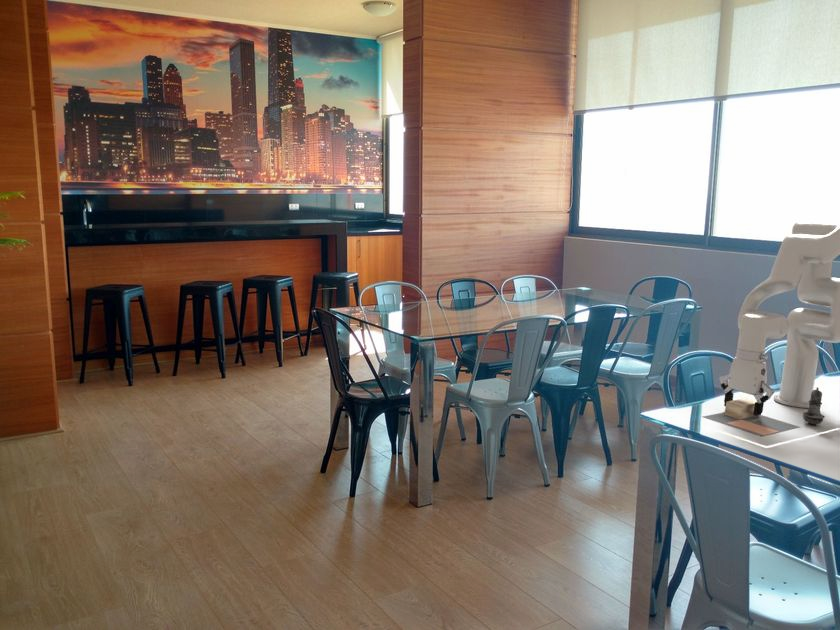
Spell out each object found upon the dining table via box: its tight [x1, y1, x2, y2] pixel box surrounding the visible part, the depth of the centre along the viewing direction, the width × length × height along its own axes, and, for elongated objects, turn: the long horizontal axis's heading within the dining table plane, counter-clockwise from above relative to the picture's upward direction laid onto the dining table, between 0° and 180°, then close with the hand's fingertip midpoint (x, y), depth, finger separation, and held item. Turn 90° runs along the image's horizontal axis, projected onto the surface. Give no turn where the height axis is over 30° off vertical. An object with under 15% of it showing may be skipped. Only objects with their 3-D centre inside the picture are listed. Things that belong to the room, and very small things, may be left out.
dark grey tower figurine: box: [802, 386, 825, 427], centre depth 213 cm, size 6×6×12 cm
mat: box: [702, 411, 801, 437], centre depth 213 cm, size 20×19×1 cm
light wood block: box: [724, 397, 758, 419], centre depth 220 cm, size 10×5×4 cm, turn 124°
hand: (742, 410), depth 220 cm, fingers open, 9 cm apart
